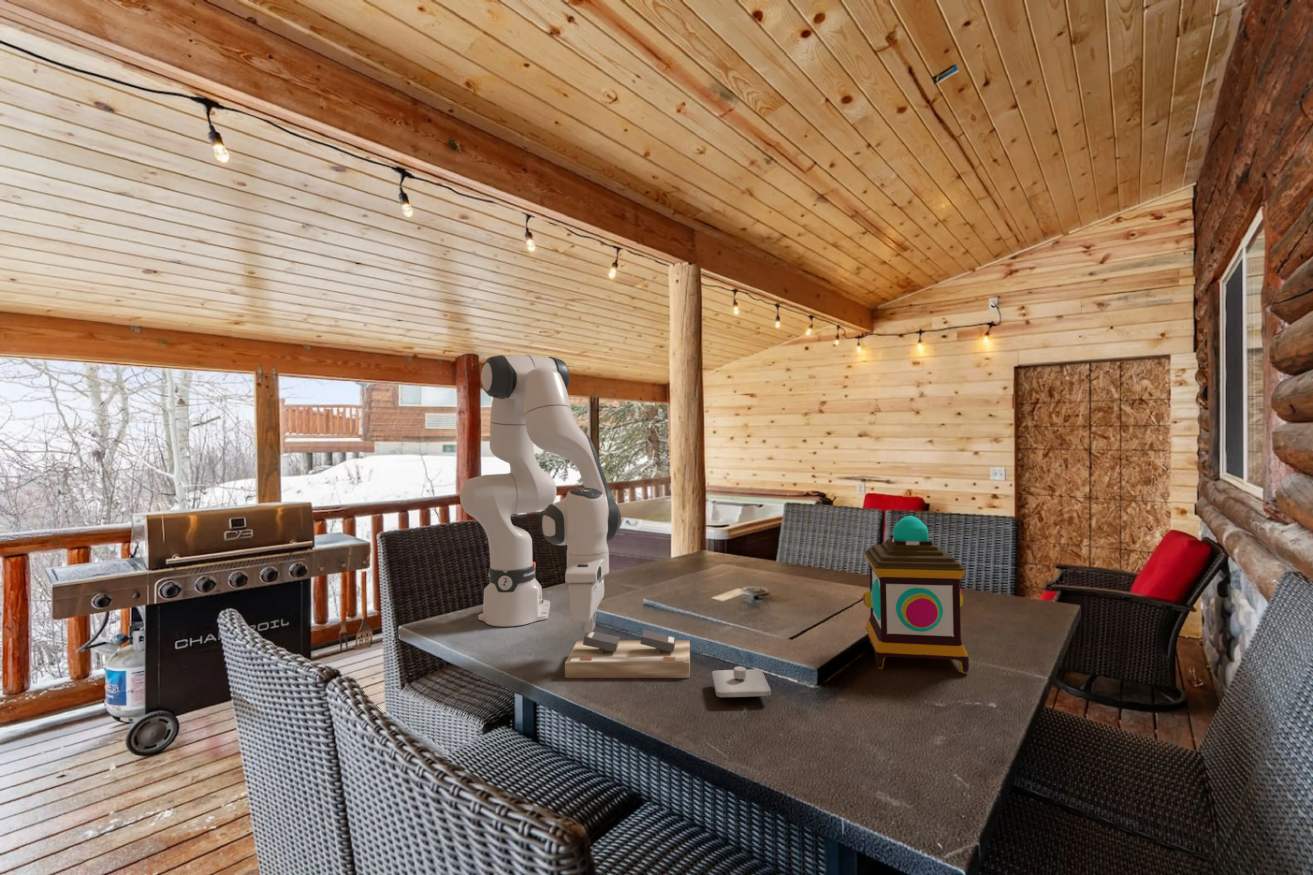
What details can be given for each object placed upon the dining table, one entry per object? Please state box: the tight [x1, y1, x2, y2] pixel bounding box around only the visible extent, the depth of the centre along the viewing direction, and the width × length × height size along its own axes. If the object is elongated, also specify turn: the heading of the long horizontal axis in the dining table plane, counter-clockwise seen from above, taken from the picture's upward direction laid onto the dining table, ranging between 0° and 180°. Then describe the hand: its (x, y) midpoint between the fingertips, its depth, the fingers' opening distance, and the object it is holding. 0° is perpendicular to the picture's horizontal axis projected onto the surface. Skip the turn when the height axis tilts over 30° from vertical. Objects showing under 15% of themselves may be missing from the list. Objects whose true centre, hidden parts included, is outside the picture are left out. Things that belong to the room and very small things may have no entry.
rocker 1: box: [583, 630, 620, 652], centre depth 127 cm, size 4×7×2 cm, turn 86°
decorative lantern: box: [862, 515, 970, 674], centre depth 128 cm, size 20×20×30 cm
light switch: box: [711, 665, 772, 698], centre depth 112 cm, size 10×10×5 cm
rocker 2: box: [640, 629, 677, 652], centre depth 127 cm, size 4×7×2 cm, turn 86°
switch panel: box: [564, 639, 691, 679], centre depth 127 cm, size 13×25×4 cm, turn 86°
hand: (590, 630), depth 127 cm, fingers closed
